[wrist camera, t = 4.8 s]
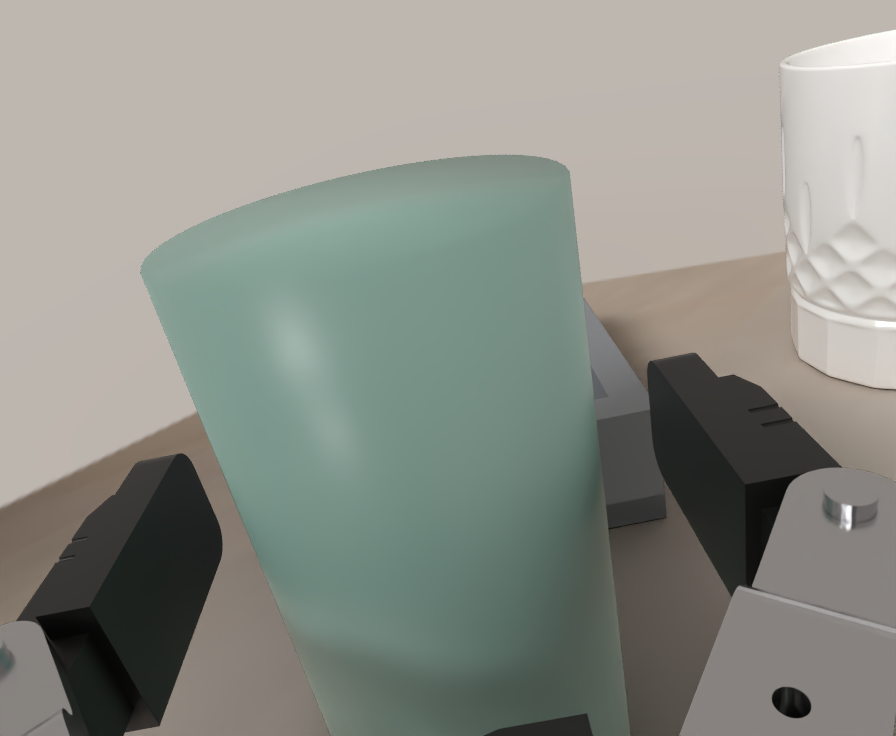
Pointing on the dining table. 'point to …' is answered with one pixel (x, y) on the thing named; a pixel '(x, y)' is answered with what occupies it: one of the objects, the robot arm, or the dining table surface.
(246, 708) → the dining table surface
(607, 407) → the dish
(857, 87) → the white cup
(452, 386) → the mint green cylinder
